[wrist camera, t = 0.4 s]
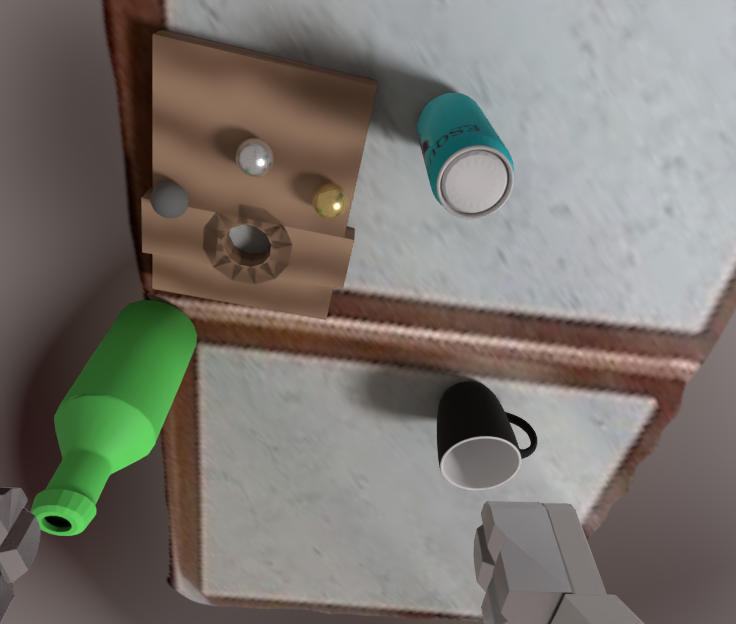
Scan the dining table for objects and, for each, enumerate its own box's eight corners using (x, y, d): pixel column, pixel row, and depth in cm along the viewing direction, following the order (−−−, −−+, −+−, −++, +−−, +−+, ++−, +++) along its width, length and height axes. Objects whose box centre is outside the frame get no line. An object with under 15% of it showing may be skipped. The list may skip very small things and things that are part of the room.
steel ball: (241, 129, 47) (233, 141, 44) (278, 137, 47) (273, 149, 45) (237, 165, 49) (230, 178, 46) (273, 172, 49) (268, 186, 46)
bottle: (126, 355, 64) (13, 554, 44) (112, 293, 59) (-23, 484, 39) (203, 359, 64) (126, 558, 44) (195, 298, 60) (104, 489, 39)
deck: (149, 26, 45) (139, 30, 42) (388, 83, 47) (389, 89, 45) (150, 274, 58) (142, 286, 56) (336, 308, 60) (335, 321, 58)
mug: (424, 422, 70) (432, 487, 62) (438, 369, 65) (448, 433, 57) (515, 430, 71) (535, 495, 63) (535, 378, 66) (559, 442, 58)
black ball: (157, 173, 49) (145, 186, 46) (193, 180, 49) (183, 194, 47) (157, 205, 51) (145, 220, 48) (192, 212, 51) (182, 227, 48)
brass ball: (316, 174, 49) (314, 187, 46) (351, 181, 49) (351, 195, 47) (311, 206, 51) (308, 221, 48) (344, 213, 51) (343, 228, 49)
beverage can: (405, 107, 48) (418, 166, 36) (466, 75, 47) (501, 125, 34) (431, 163, 51) (451, 236, 39) (489, 135, 50) (530, 201, 37)
